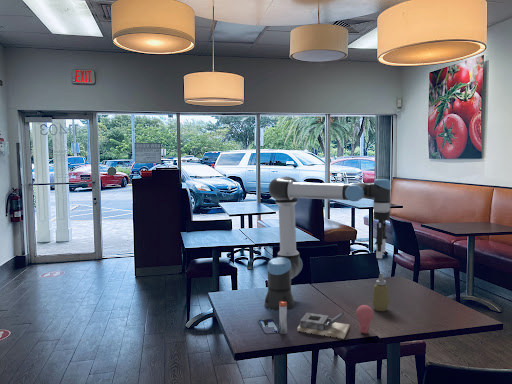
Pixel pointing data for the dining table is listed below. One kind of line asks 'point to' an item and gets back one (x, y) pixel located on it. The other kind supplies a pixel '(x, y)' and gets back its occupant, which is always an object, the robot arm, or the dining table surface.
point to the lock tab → (335, 319)
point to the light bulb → (364, 317)
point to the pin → (282, 317)
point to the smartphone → (269, 323)
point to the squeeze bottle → (380, 294)
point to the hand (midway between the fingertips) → (380, 255)
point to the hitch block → (322, 326)
